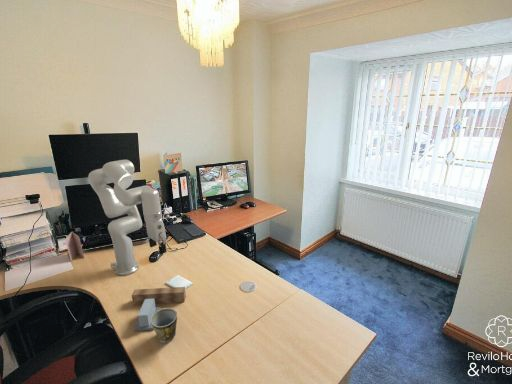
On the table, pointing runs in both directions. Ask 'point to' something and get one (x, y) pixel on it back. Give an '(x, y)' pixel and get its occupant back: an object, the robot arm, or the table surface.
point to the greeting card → (74, 245)
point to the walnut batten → (159, 295)
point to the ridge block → (146, 315)
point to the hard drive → (179, 282)
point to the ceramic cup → (165, 324)
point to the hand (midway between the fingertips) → (158, 249)
